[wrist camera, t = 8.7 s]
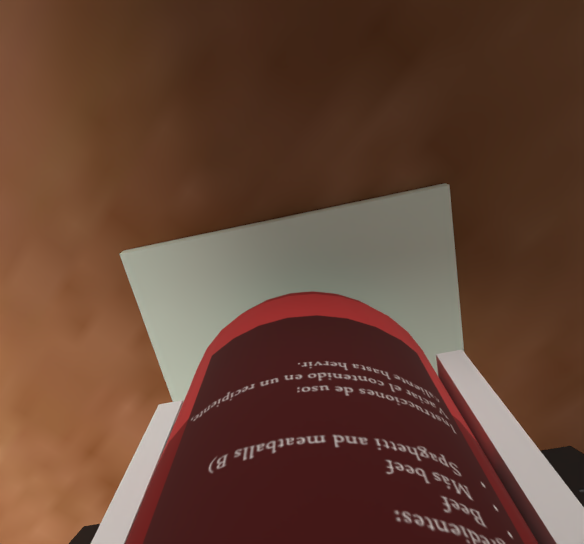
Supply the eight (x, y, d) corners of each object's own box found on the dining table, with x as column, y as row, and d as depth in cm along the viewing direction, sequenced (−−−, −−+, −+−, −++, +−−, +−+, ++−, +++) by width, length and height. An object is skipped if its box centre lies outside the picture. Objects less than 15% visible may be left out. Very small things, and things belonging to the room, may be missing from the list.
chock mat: (123, 250, 14) (119, 253, 14) (444, 183, 13) (449, 184, 13) (210, 492, 18) (208, 500, 17) (469, 449, 17) (473, 457, 17)
